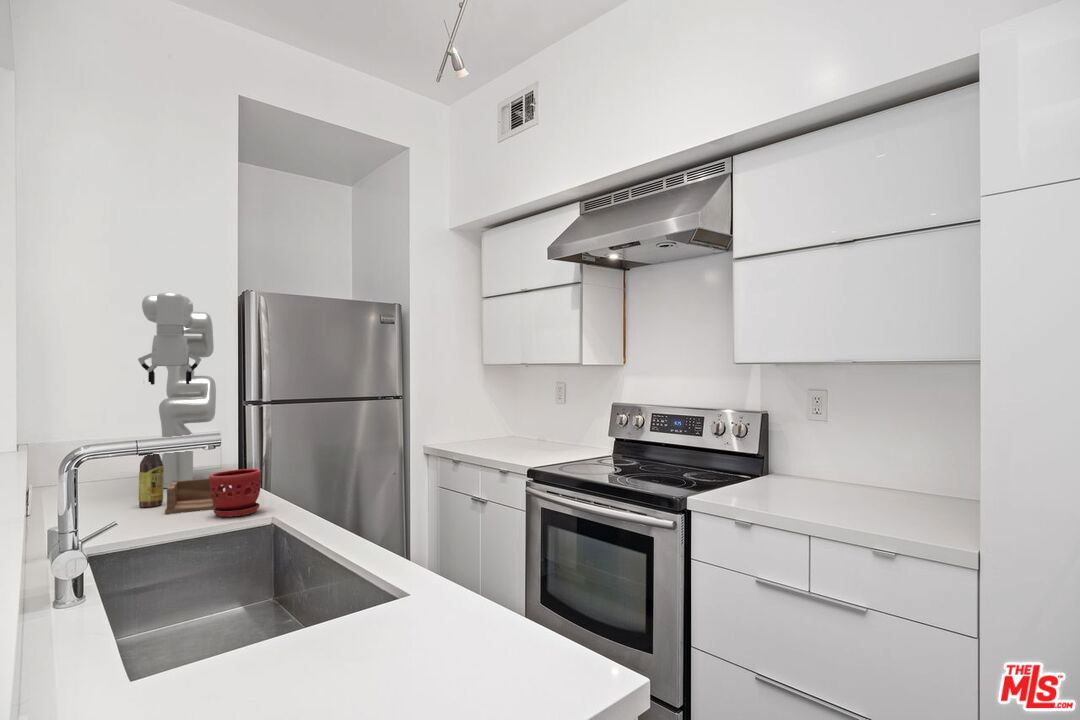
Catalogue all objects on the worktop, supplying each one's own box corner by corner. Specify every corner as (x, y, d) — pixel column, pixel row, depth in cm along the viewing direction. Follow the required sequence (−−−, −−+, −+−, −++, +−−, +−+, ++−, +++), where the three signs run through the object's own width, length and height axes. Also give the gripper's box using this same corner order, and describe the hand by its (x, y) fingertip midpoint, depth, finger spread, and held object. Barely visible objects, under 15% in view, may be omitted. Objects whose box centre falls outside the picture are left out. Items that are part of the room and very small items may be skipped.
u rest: (170, 504, 179) (170, 481, 179) (222, 499, 185) (222, 477, 186) (164, 514, 167) (164, 489, 167) (220, 508, 173) (220, 484, 173)
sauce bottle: (154, 508, 174) (154, 441, 175) (133, 508, 174) (133, 441, 175) (168, 503, 181) (168, 439, 181) (148, 503, 181) (148, 439, 181)
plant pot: (265, 506, 175) (264, 466, 175) (255, 517, 162) (255, 474, 162) (216, 510, 171) (216, 469, 172) (203, 521, 159) (203, 476, 159)
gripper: (201, 332, 197) (201, 383, 196) (140, 331, 189) (140, 384, 188) (200, 331, 190) (200, 383, 190) (136, 330, 182) (136, 385, 182)
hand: (170, 384), depth 189 cm, fingers open, 9 cm apart
